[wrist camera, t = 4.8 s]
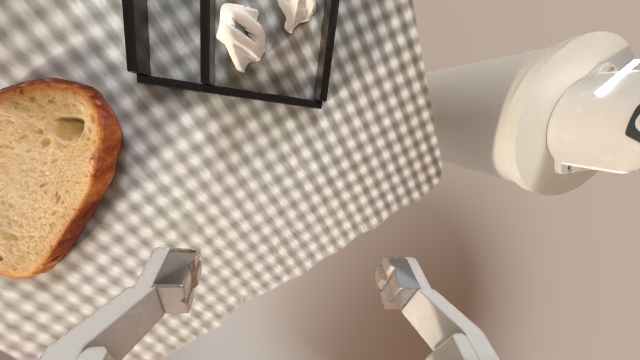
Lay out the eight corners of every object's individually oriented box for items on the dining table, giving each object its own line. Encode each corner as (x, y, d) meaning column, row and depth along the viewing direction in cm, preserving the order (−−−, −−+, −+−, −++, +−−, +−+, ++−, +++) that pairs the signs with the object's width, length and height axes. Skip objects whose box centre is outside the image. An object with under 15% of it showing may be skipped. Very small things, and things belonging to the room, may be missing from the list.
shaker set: (303, -31, 25) (335, -129, 15) (325, 9, 26) (369, -54, 16) (213, 39, 25) (181, -10, 14) (241, 75, 26) (231, 54, 16)
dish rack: (337, -47, 25) (348, -66, 22) (319, 108, 29) (325, 108, 27) (129, -117, 20) (109, -153, 17) (142, 83, 24) (127, 80, 21)
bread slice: (16, 280, 26) (-20, 307, 23) (-131, 121, 20) (-211, 124, 17) (181, 224, 29) (170, 239, 26) (95, 68, 23) (66, 61, 19)
